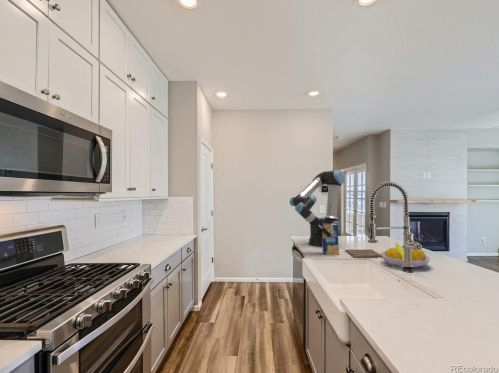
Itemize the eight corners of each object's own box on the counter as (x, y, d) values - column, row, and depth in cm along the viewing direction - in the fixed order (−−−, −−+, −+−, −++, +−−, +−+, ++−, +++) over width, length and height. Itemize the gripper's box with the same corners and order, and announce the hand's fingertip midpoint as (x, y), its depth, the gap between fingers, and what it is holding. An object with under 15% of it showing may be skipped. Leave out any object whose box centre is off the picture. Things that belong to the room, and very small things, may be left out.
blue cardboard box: (338, 254, 192) (338, 224, 192) (323, 254, 194) (322, 224, 194) (337, 252, 198) (336, 223, 199) (322, 252, 200) (321, 223, 201)
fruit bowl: (432, 273, 146) (431, 253, 146) (378, 267, 160) (378, 248, 160) (429, 261, 169) (428, 244, 170) (382, 256, 184) (382, 240, 184)
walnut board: (345, 251, 202) (345, 249, 202) (371, 251, 201) (371, 249, 201) (353, 257, 182) (353, 256, 182) (383, 257, 181) (383, 256, 181)
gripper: (307, 221, 205) (329, 242, 204) (310, 224, 189) (334, 247, 188) (313, 214, 205) (336, 235, 203) (317, 216, 189) (341, 239, 188)
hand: (335, 241), depth 196 cm, fingers closed on blue cardboard box, 3 cm apart
